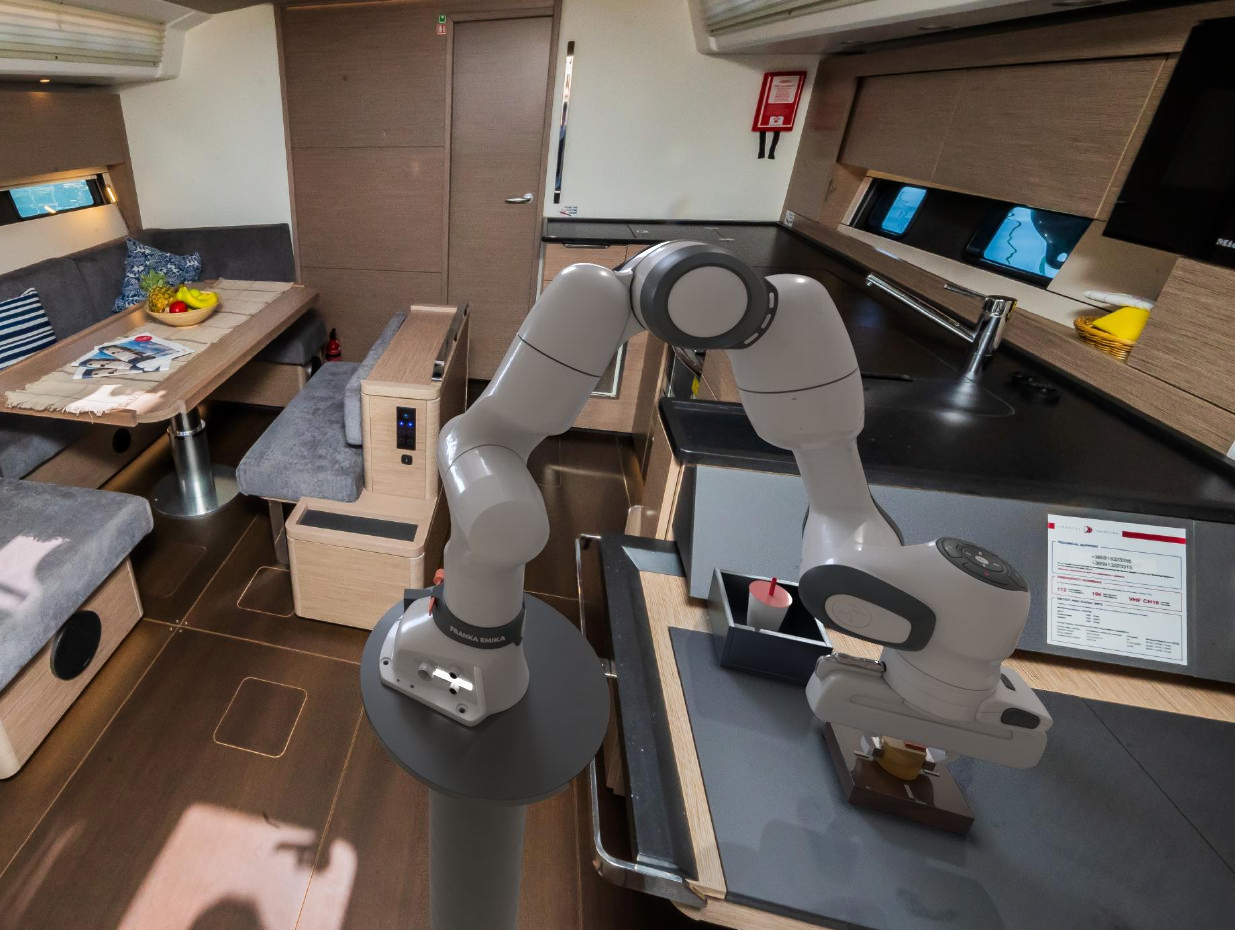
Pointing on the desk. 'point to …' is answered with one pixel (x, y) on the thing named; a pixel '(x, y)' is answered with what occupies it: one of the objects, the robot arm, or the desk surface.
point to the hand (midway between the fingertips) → (897, 758)
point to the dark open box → (764, 631)
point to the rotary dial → (896, 785)
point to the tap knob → (902, 757)
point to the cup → (767, 605)
